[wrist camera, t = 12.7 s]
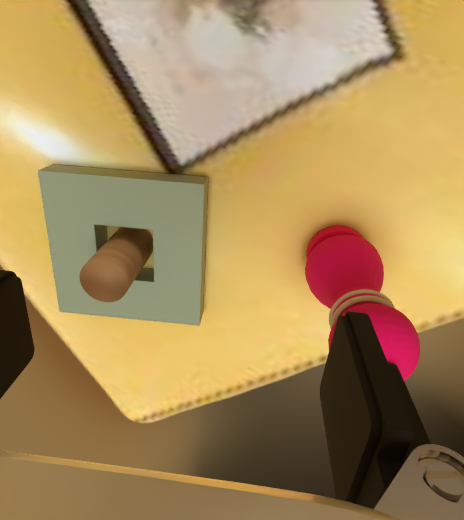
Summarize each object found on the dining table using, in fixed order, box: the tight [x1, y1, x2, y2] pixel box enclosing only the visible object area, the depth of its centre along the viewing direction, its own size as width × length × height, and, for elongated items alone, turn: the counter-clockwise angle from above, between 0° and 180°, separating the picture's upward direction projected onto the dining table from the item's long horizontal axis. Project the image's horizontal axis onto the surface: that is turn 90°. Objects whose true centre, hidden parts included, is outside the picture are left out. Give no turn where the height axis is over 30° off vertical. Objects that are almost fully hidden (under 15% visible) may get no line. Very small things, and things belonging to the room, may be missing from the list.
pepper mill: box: [305, 226, 420, 381], centre depth 32 cm, size 7×7×20 cm
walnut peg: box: [80, 227, 153, 303], centre depth 39 cm, size 4×4×9 cm
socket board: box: [38, 164, 208, 326], centre depth 41 cm, size 16×16×3 cm
